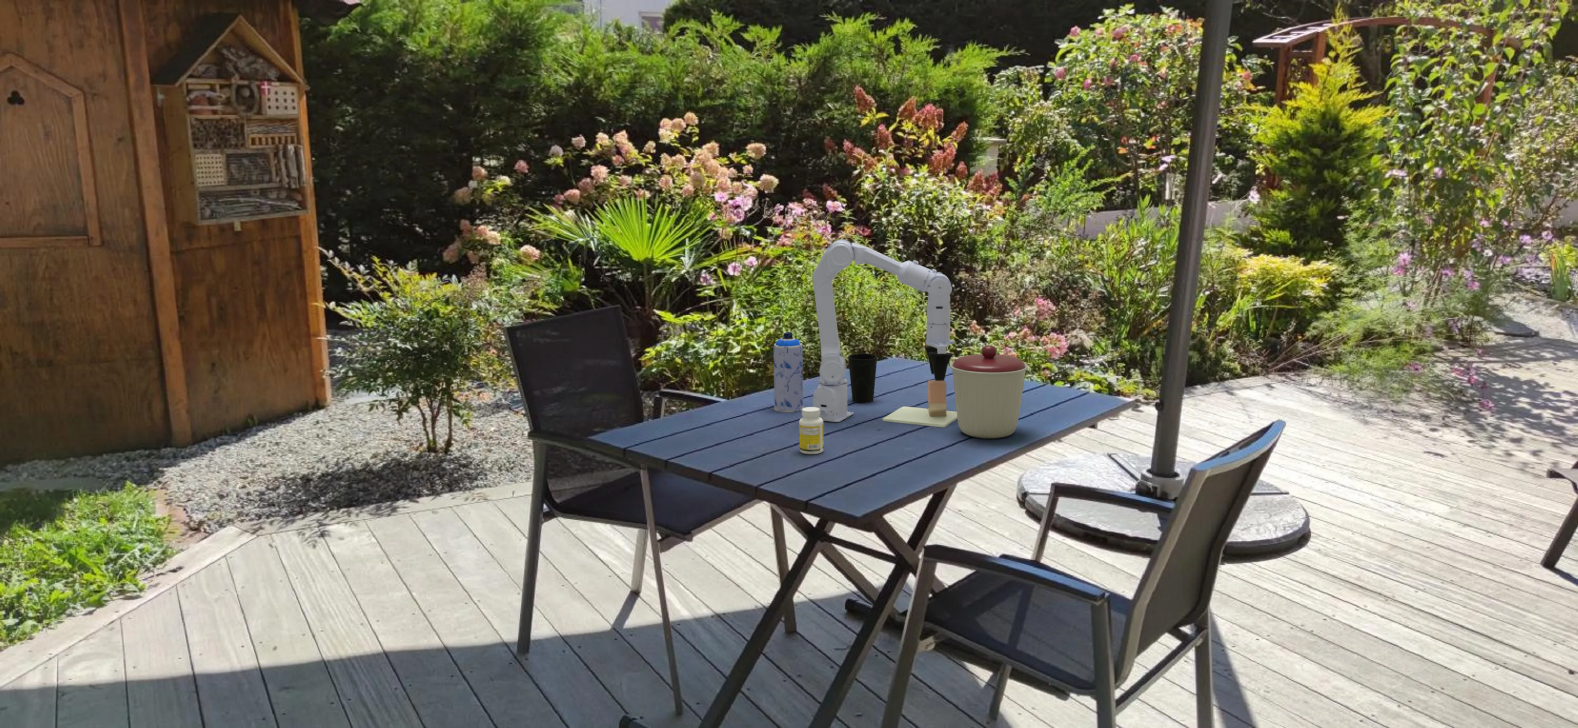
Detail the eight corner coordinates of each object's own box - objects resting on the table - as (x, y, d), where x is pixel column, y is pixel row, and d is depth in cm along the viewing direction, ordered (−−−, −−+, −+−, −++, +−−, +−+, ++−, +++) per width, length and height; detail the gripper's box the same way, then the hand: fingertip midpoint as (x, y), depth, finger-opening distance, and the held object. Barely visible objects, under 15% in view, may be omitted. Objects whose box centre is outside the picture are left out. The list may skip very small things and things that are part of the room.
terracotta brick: (946, 403, 280) (946, 383, 279) (929, 403, 280) (930, 383, 279) (943, 399, 284) (944, 380, 283) (927, 399, 284) (928, 380, 283)
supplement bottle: (809, 446, 258) (809, 404, 256) (828, 450, 254) (828, 408, 252) (794, 452, 254) (794, 409, 252) (813, 456, 250) (813, 413, 248)
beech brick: (946, 416, 281) (946, 403, 280) (930, 416, 281) (930, 403, 280) (944, 412, 285) (944, 399, 284) (928, 412, 285) (928, 399, 284)
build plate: (944, 427, 273) (944, 425, 273) (882, 420, 280) (882, 418, 280) (962, 414, 285) (962, 412, 285) (903, 408, 292) (903, 406, 292)
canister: (1026, 445, 257) (1029, 353, 253) (946, 441, 260) (947, 351, 256) (1026, 425, 274) (1028, 339, 270) (951, 422, 278) (952, 337, 274)
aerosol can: (806, 411, 291) (805, 334, 287) (776, 413, 290) (774, 335, 286) (801, 404, 298) (800, 329, 294) (771, 406, 297) (770, 330, 293)
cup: (875, 404, 297) (875, 360, 295) (846, 403, 299) (846, 359, 296) (878, 397, 305) (878, 353, 302) (850, 396, 306) (850, 352, 303)
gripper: (959, 327, 271) (958, 383, 274) (950, 318, 285) (949, 371, 288) (929, 328, 271) (928, 383, 274) (922, 318, 286) (921, 371, 288)
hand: (937, 377), depth 281 cm, fingers open, 7 cm apart
